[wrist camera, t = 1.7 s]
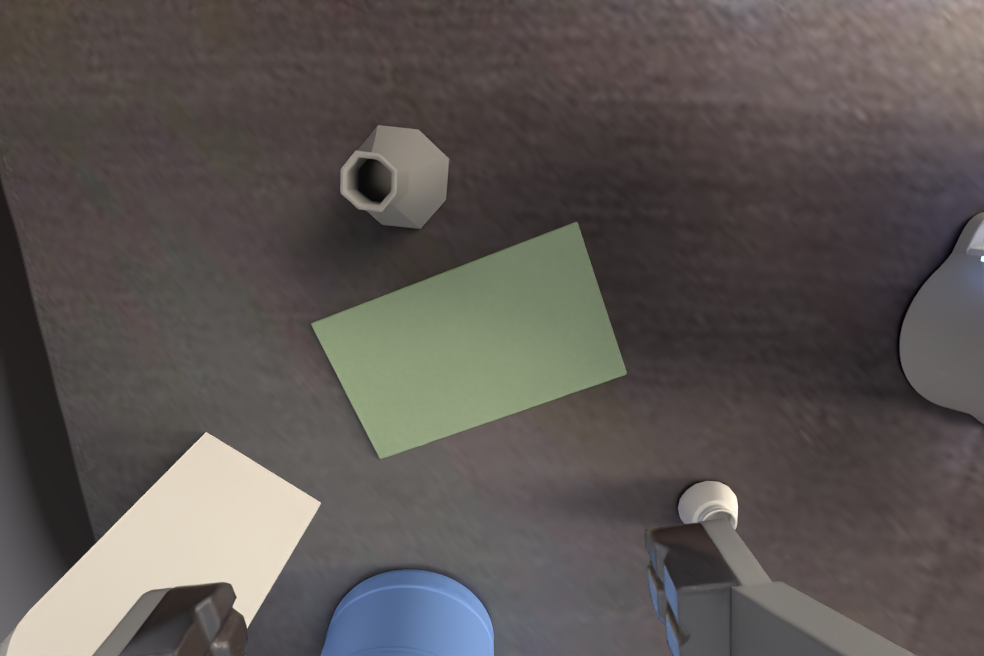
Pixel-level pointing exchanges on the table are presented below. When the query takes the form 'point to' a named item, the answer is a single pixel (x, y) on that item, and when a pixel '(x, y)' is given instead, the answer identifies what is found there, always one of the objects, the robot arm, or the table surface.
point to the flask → (396, 177)
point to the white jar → (708, 503)
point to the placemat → (474, 342)
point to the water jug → (409, 618)
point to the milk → (174, 549)
